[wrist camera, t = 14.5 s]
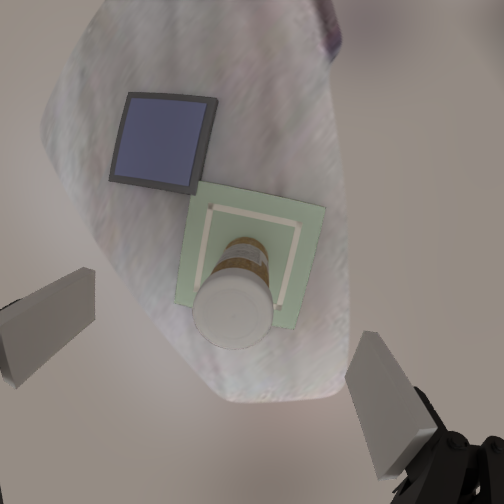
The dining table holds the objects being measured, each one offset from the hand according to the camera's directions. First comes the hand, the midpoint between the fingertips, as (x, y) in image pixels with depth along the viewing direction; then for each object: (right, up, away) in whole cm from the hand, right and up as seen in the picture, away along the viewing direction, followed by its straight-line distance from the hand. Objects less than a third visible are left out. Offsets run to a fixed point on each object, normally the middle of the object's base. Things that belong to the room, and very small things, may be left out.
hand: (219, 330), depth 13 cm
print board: (+1, +3, +17) cm, 17 cm away
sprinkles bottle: (+1, +3, +16) cm, 16 cm away
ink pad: (-8, +15, +15) cm, 22 cm away
